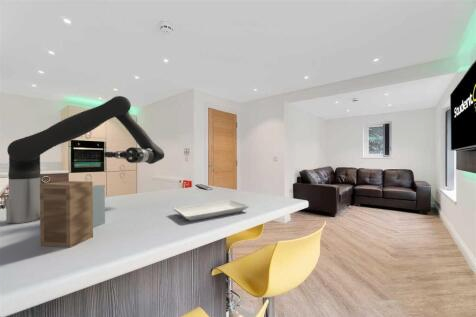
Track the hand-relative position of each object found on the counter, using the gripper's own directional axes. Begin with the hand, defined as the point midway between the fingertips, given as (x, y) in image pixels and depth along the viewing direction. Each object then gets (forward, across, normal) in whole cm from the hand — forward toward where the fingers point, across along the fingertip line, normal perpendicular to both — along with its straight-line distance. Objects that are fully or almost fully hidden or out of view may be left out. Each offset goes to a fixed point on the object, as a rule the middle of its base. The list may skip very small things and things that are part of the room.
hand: (114, 154), depth 91 cm
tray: (-13, +40, +27) cm, 50 cm away
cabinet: (+22, +3, +27) cm, 35 cm away
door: (+13, 0, +27) cm, 30 cm away
